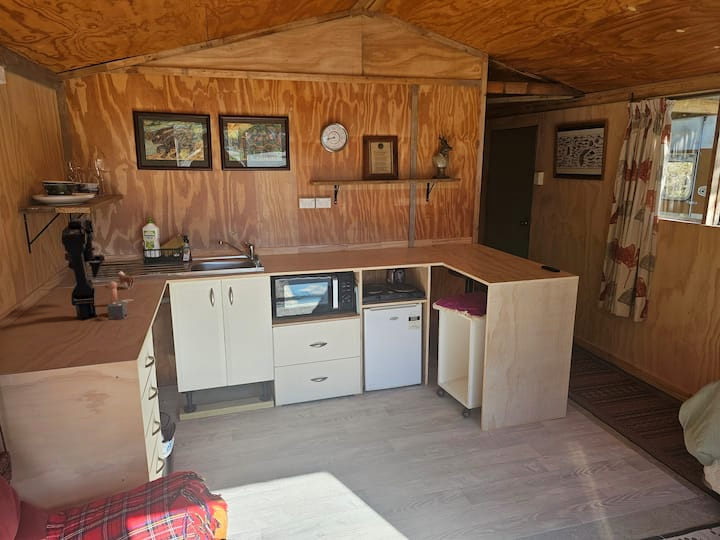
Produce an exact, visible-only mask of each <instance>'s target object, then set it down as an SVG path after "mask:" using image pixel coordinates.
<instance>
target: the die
mask: <svg viewBox="0 0 720 540" xmlns="http://www.w3.org/2000/svg"><path fill="white" fill-rule="evenodd" d="M106 309H107V317H108V321H112V320H114V321H117V320H124V319H126V318H127V316H128V314H127V312H128V310H127V302H125V301H124V302H120V301H118V302H113V303H110V302H109V304H108V305H107V308H106Z"/></svg>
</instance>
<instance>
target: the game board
mask: <svg viewBox="0 0 720 540" xmlns="http://www.w3.org/2000/svg"><path fill="white" fill-rule="evenodd" d="M131 301H133V299H130V298H127V299H123V300H121V301H119V302H126V303H129V302H131Z"/></svg>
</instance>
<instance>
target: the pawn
mask: <svg viewBox="0 0 720 540" xmlns="http://www.w3.org/2000/svg"><path fill="white" fill-rule="evenodd" d="M107 287H108V289H109V290H108V291H109V304H110V303H113V302H119V299H118V291H117V290H118V289H117V288H118V283H117V282H116V281H113V280H112V281H110V282H108V283H107Z"/></svg>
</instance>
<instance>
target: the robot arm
mask: <svg viewBox="0 0 720 540" xmlns="http://www.w3.org/2000/svg"><path fill="white" fill-rule="evenodd" d="M72 231H73V232H74V233H71V232H72ZM61 233H62V234H61V244H62V246H64V250H65V251H66V252H65V253H64V259H65V261H68V263H67V268H68V269H70V270H71V271H73V273H74V277H75V283H74V287H73V290H72V292H71V301H70V302H71V305H72V306H75V311H76V312H75V313H76V315H75V316H74V318H75V319H78V320H80V321H84V320H85V321H86V320H89V319H93V318H96V317H97V318H98V315H96V314H97V312H96V310H97V309H96V305H95V304H96V302H97V295H96V288H95V287H94V285H93V281H92V280H91V279H88V275H87V274H88V273H87V267H86V265H87V264H89V265H90V267H91V272H92V277H93V278H97V276H98V273H99V271H100V269H101V267H102V264H103V263H104V262H105V256H104V255H103V254H94V251H95V247H93V242H94V240H95V237H96V236H95V234H94V233H95V228H94V223H93V220H91V218H74V220H69V221H68V222H67V225H66V227H65V228H64V229H63V230H62V232H61Z"/></svg>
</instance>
